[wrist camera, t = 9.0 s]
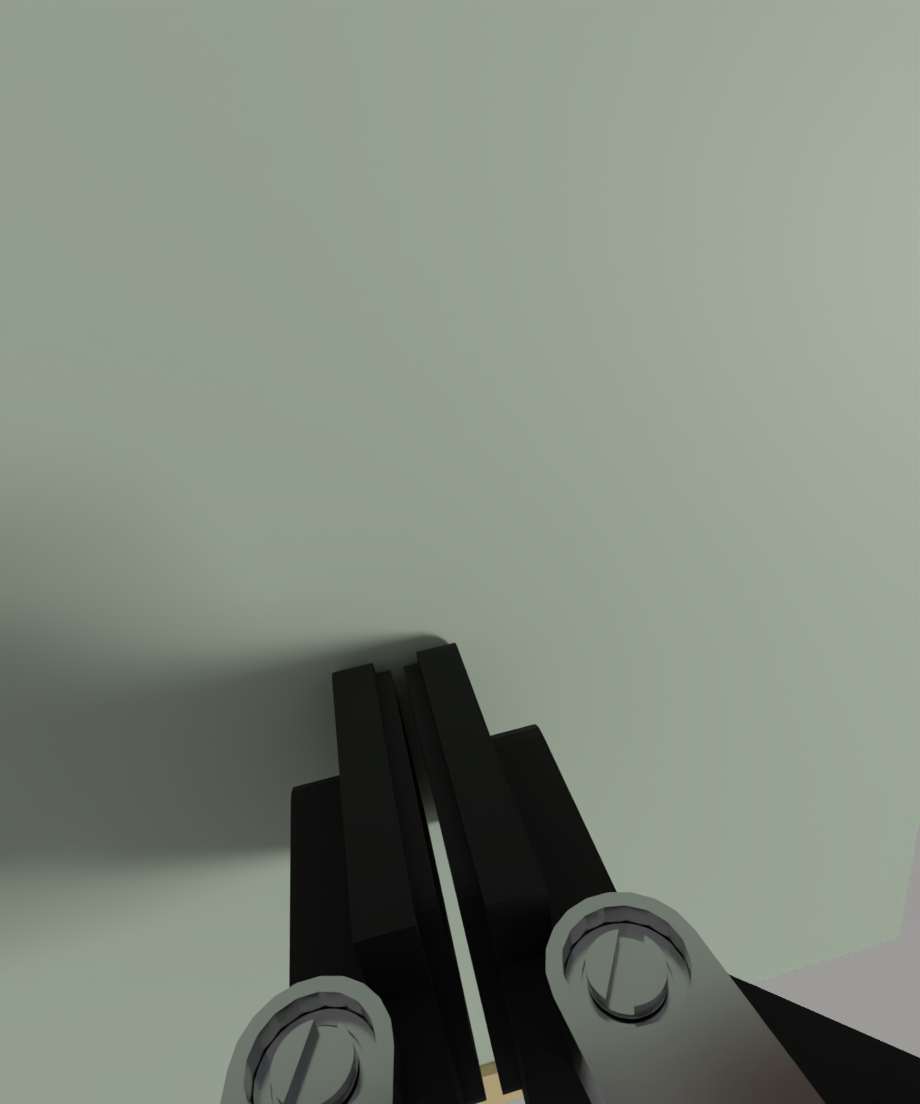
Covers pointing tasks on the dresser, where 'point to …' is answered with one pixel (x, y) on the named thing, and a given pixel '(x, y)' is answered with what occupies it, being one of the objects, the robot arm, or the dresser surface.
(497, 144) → the lid
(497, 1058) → the robot arm
